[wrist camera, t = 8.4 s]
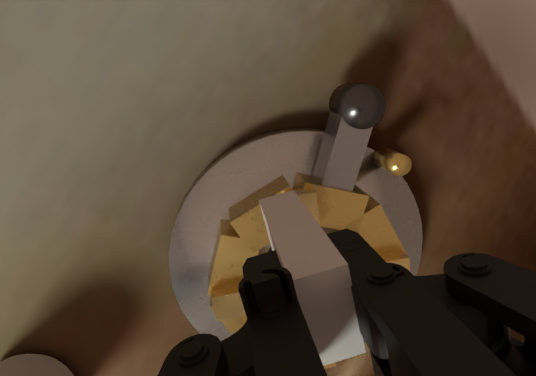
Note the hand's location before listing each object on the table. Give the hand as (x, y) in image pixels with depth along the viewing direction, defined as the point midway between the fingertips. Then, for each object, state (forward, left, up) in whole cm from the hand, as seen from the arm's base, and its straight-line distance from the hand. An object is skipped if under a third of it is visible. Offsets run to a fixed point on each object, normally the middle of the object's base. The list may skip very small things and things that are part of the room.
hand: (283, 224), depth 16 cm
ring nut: (-5, -6, -14) cm, 16 cm away
